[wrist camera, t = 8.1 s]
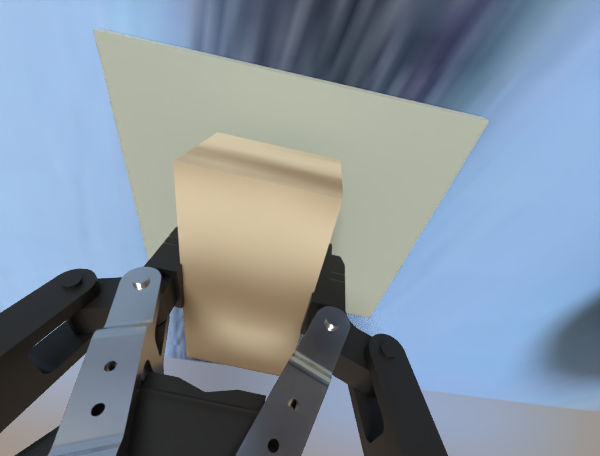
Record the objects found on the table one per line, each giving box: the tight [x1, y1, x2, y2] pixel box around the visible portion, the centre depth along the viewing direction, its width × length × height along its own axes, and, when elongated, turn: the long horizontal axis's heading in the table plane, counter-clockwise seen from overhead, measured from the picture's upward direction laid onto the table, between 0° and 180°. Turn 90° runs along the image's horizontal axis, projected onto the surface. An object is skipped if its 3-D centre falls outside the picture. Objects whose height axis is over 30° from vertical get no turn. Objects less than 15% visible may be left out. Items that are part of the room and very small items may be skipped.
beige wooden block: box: [173, 132, 343, 376], centre depth 12 cm, size 10×5×4 cm, turn 169°
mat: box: [93, 29, 489, 318], centre depth 15 cm, size 16×14×1 cm
